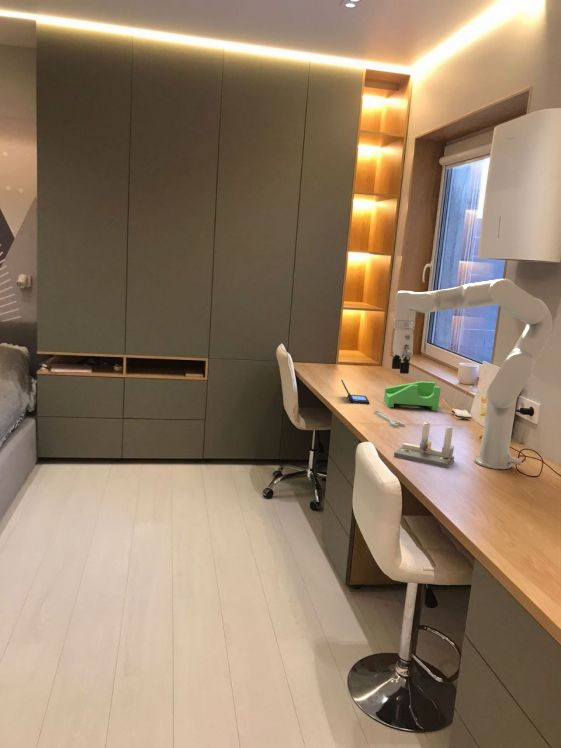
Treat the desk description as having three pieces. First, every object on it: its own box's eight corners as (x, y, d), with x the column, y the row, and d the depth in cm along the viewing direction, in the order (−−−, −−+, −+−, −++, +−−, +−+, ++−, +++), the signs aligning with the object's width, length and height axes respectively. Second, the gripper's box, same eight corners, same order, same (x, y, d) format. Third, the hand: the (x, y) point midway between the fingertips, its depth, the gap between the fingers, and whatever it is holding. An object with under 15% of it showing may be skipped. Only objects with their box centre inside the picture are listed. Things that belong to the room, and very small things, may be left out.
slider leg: (430, 450, 227) (434, 421, 225) (426, 454, 222) (429, 424, 220) (422, 449, 228) (425, 419, 226) (418, 452, 223) (421, 423, 221)
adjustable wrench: (372, 413, 288) (372, 410, 288) (385, 414, 290) (385, 410, 289) (392, 428, 264) (393, 424, 264) (406, 428, 266) (407, 424, 265)
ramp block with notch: (431, 405, 314) (434, 382, 312) (437, 412, 301) (440, 387, 299) (383, 402, 314) (386, 378, 312) (387, 408, 301) (390, 383, 299)
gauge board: (453, 460, 224) (458, 425, 221) (447, 467, 215) (451, 431, 213) (402, 450, 232) (405, 416, 230) (393, 456, 224) (397, 421, 221)
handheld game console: (369, 405, 305) (371, 386, 303) (342, 403, 305) (343, 384, 303) (365, 398, 320) (367, 380, 318) (339, 396, 320) (341, 378, 318)
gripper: (422, 327, 221) (417, 375, 224) (406, 323, 238) (402, 367, 241) (401, 327, 220) (397, 375, 223) (387, 322, 237) (383, 366, 240)
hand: (400, 371), depth 232 cm, fingers open, 9 cm apart
